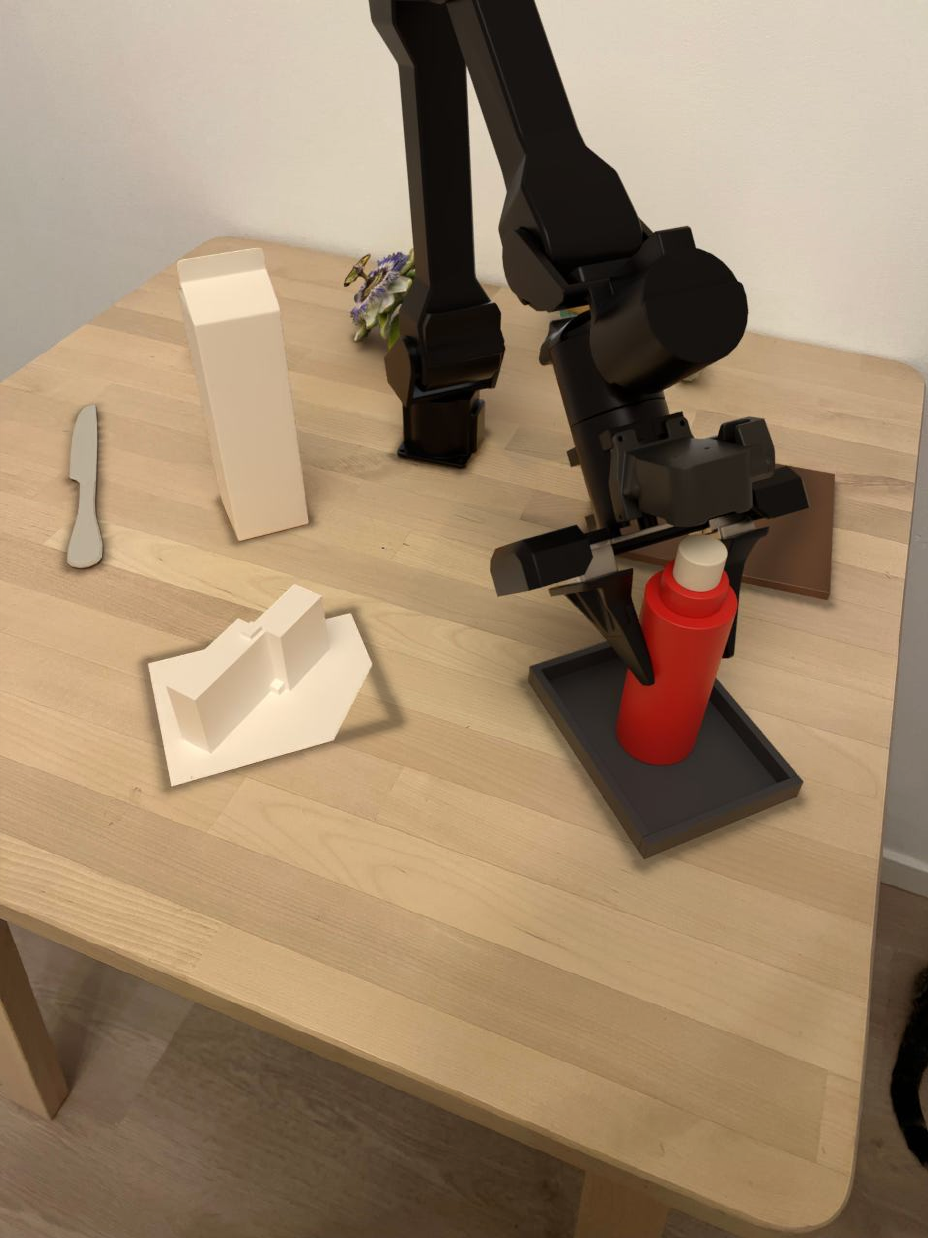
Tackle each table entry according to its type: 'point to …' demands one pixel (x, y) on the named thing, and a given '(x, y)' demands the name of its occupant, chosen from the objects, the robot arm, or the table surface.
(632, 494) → the robot arm
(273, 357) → the milk
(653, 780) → the baking tray
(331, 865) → the table surface
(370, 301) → the passion flower
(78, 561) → the butter knife
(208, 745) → the white building model
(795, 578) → the serving board
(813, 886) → the table surface
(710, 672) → the ketchup
